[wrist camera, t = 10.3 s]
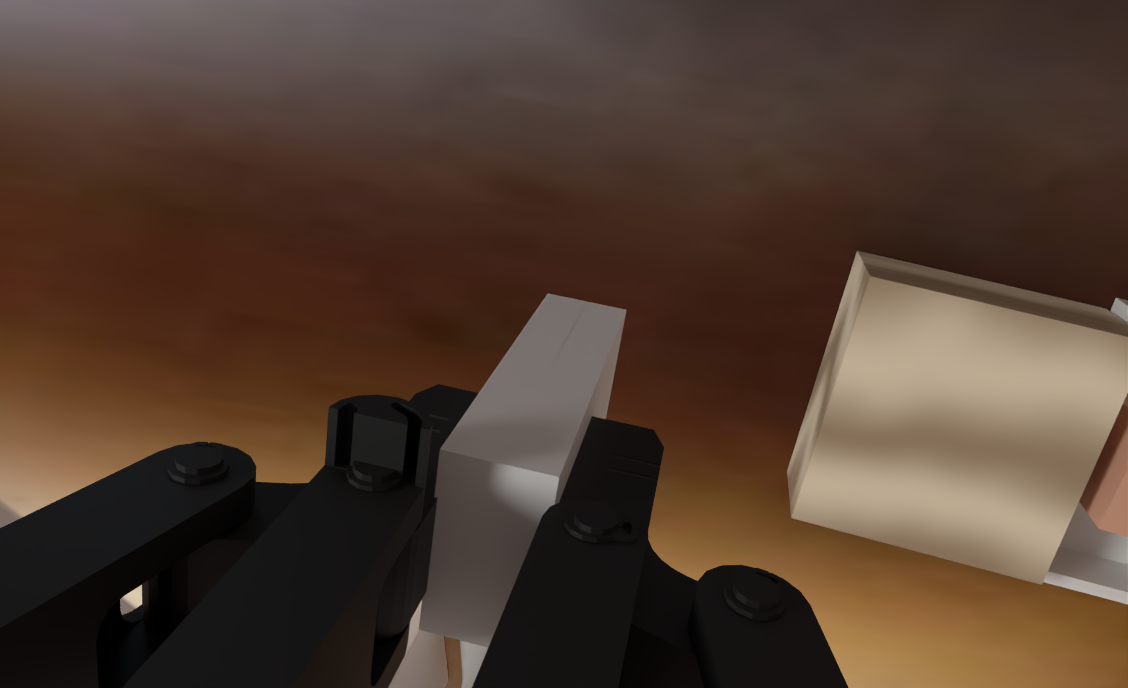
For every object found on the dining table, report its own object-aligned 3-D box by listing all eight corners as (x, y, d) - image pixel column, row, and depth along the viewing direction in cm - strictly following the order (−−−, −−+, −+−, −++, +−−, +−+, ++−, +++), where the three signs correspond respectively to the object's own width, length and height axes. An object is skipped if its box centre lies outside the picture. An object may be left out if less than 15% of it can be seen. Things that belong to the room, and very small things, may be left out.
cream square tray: (857, 250, 44) (870, 276, 39) (1106, 308, 43) (1150, 342, 38) (787, 471, 48) (791, 518, 44) (1012, 529, 47) (1041, 584, 42)
